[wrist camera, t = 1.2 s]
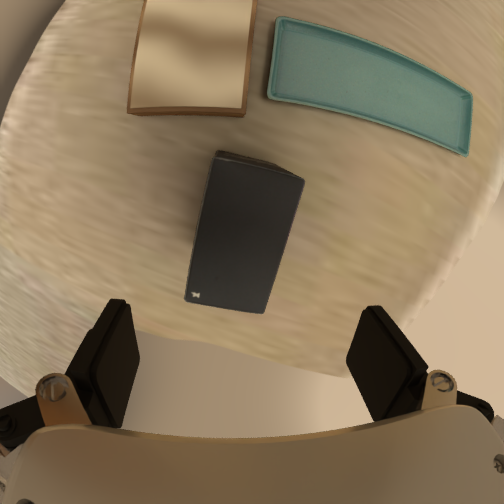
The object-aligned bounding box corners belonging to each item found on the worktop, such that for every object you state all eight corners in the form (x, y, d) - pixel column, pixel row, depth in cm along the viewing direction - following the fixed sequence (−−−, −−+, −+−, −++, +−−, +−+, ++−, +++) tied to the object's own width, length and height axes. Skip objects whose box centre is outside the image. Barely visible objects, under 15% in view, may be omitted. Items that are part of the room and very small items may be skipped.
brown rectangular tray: (158, -3, 18) (148, -21, 14) (255, -3, 19) (259, -22, 15) (140, 116, 23) (125, 113, 19) (243, 117, 24) (245, 113, 20)
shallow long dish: (463, 93, 24) (475, 93, 22) (457, 156, 27) (470, 159, 25) (272, 23, 21) (276, 14, 19) (262, 102, 24) (265, 98, 22)
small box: (254, 260, 30) (266, 319, 21) (194, 248, 29) (179, 304, 20) (281, 164, 27) (311, 180, 17) (215, 148, 25) (207, 154, 16)
